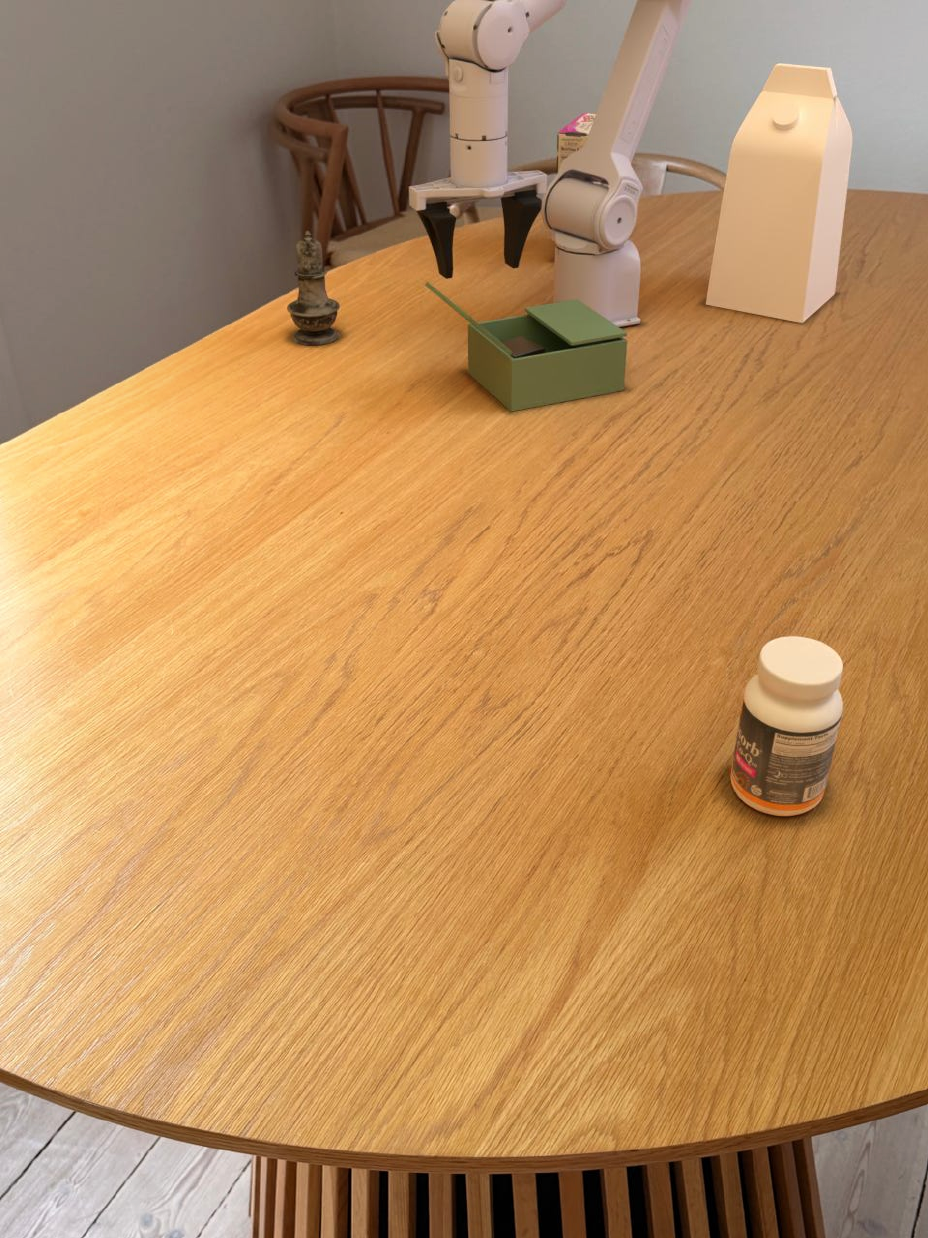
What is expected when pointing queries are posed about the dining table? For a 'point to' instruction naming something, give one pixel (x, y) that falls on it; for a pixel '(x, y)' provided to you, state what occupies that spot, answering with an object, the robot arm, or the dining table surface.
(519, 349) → the block
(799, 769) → the pill bottle
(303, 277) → the grey tall tiered piece
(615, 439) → the dining table surface
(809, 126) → the milk
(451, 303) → the flap
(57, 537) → the dining table surface
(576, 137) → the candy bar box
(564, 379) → the carton
